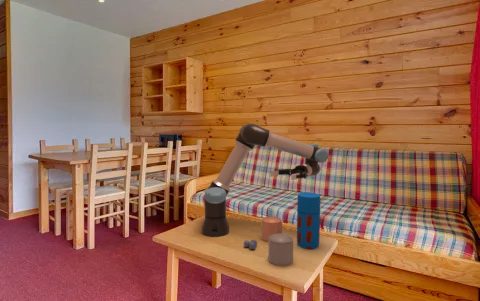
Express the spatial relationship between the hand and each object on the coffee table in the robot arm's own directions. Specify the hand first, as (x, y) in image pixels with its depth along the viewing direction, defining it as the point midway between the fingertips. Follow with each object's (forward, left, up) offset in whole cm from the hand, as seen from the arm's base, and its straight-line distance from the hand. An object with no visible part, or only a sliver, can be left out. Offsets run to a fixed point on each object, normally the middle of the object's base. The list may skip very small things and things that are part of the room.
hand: (281, 175), depth 155 cm
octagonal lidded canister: (0, -8, -32) cm, 33 cm away
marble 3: (+2, -25, -32) cm, 40 cm away
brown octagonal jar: (+18, -25, -32) cm, 44 cm away
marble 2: (0, -22, -32) cm, 39 cm away
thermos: (+18, -2, -32) cm, 37 cm away
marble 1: (-2, -25, -32) cm, 40 cm away
